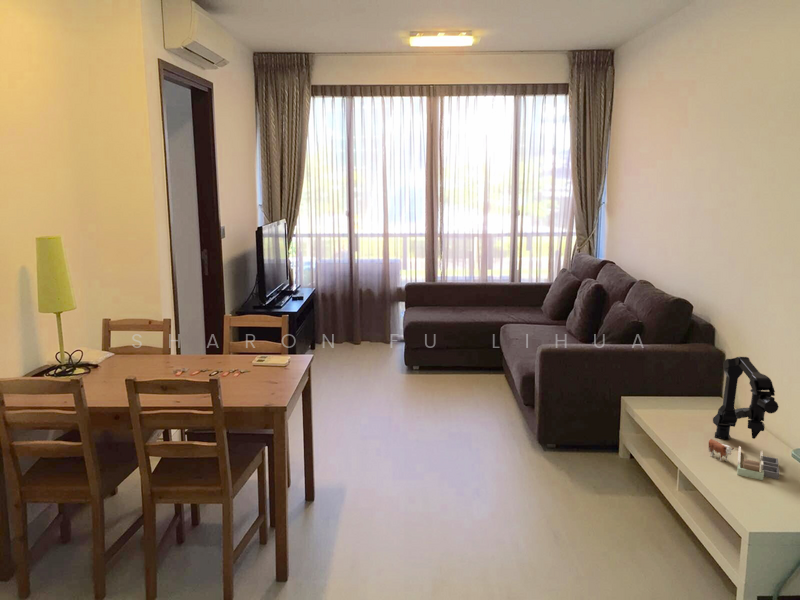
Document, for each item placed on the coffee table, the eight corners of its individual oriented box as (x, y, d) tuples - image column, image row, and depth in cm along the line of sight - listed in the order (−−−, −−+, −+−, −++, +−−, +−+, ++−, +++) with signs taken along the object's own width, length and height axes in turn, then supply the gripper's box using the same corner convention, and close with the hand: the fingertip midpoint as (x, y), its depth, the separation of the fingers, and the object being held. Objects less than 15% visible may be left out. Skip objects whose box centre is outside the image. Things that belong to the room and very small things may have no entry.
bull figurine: (726, 466, 277) (729, 448, 275) (704, 453, 290) (706, 436, 288) (735, 465, 278) (737, 447, 276) (712, 452, 291) (715, 435, 289)
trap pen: (738, 451, 292) (739, 445, 291) (776, 459, 285) (777, 452, 284) (737, 474, 269) (738, 468, 268) (779, 483, 262) (780, 477, 261)
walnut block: (742, 469, 274) (743, 458, 273) (758, 472, 272) (759, 461, 271) (742, 474, 269) (743, 464, 268) (758, 478, 266) (759, 467, 265)
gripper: (737, 395, 288) (733, 427, 291) (736, 407, 272) (732, 441, 275) (765, 399, 283) (761, 432, 286) (766, 413, 267) (761, 447, 270)
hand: (753, 438), depth 280 cm, fingers closed
